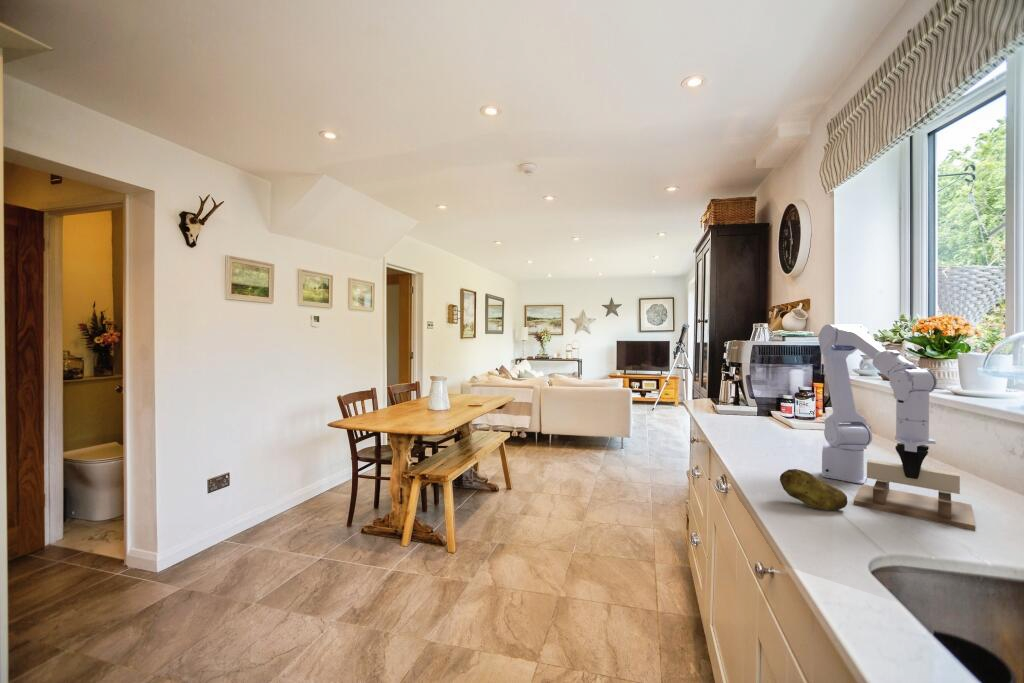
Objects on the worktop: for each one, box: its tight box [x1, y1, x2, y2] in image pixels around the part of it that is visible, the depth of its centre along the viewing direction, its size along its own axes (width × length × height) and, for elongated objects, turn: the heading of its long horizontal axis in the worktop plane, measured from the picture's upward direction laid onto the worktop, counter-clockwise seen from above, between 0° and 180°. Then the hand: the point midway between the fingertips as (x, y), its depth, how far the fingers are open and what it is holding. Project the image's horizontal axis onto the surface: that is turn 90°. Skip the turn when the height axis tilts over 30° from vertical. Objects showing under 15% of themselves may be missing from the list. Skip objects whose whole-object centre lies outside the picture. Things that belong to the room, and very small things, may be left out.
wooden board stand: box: [853, 479, 976, 531], centre depth 102 cm, size 20×16×4 cm
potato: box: [779, 468, 848, 511], centre depth 103 cm, size 8×13×8 cm, turn 40°
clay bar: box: [866, 459, 961, 495], centre depth 102 cm, size 16×3×4 cm, turn 45°
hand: (911, 476), depth 102 cm, fingers closed on clay bar, 3 cm apart
